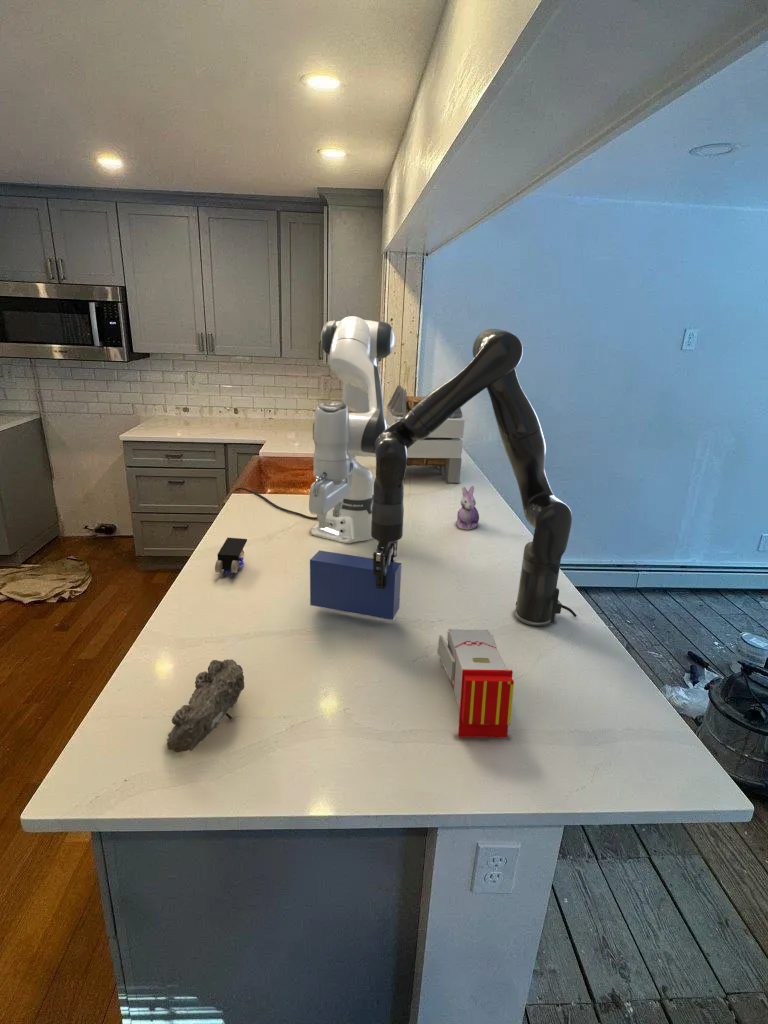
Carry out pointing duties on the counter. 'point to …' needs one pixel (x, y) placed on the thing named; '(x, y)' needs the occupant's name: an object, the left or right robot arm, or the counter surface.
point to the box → (353, 585)
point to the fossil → (206, 705)
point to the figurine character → (230, 556)
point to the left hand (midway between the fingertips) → (330, 521)
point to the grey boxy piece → (431, 438)
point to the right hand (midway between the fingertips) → (384, 581)
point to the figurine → (468, 510)
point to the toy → (478, 682)
